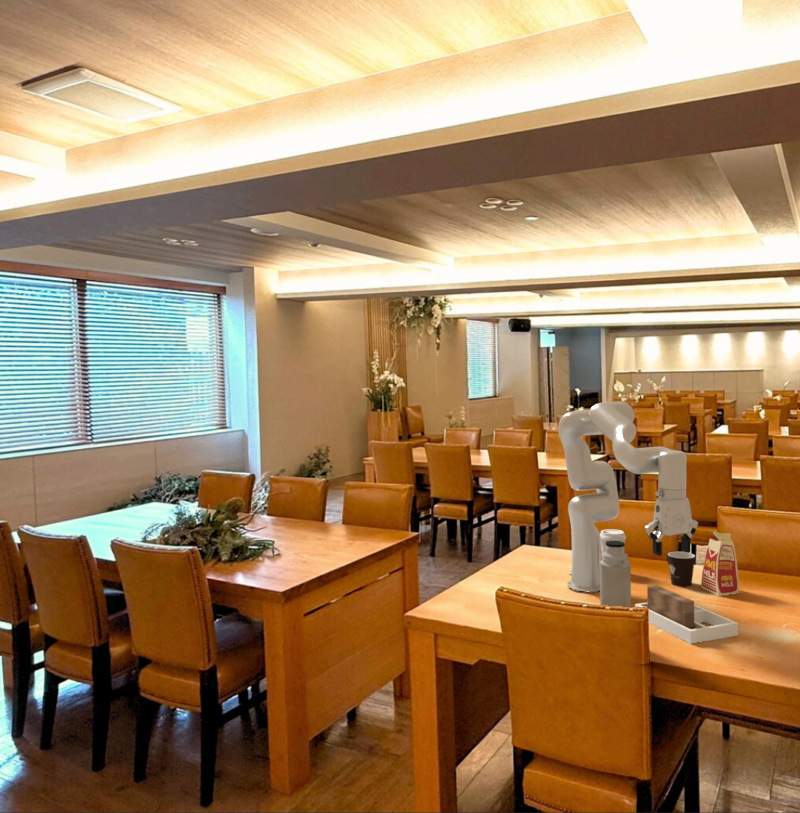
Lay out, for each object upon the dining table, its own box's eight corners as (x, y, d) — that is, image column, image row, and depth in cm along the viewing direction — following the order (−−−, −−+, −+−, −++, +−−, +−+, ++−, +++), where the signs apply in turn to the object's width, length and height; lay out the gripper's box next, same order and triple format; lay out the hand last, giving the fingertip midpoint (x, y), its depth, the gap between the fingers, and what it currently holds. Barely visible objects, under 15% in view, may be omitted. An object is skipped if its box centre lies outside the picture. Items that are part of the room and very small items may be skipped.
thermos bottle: (596, 638, 203) (595, 538, 202) (625, 637, 204) (624, 537, 202) (605, 649, 195) (604, 546, 194) (635, 648, 196) (634, 545, 194)
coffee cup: (596, 569, 270) (595, 528, 269) (622, 568, 269) (622, 528, 268) (602, 576, 260) (602, 535, 259) (629, 576, 260) (629, 534, 259)
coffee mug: (697, 588, 245) (697, 558, 244) (670, 587, 246) (670, 558, 246) (690, 578, 256) (690, 549, 255) (664, 577, 258) (664, 549, 257)
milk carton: (718, 596, 236) (718, 534, 235) (699, 588, 245) (699, 528, 244) (742, 593, 238) (742, 532, 237) (722, 585, 247) (722, 526, 246)
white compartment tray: (635, 615, 220) (634, 604, 220) (678, 608, 226) (678, 597, 225) (690, 644, 198) (690, 631, 198) (738, 635, 203) (738, 623, 203)
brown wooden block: (647, 619, 217) (647, 586, 217) (656, 618, 218) (656, 585, 218) (684, 638, 202) (684, 602, 202) (694, 636, 203) (694, 601, 203)
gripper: (654, 498, 203) (654, 559, 204) (706, 493, 208) (705, 553, 209) (638, 493, 210) (637, 552, 211) (688, 489, 215) (687, 546, 217)
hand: (671, 552), depth 210 cm, fingers open, 9 cm apart
